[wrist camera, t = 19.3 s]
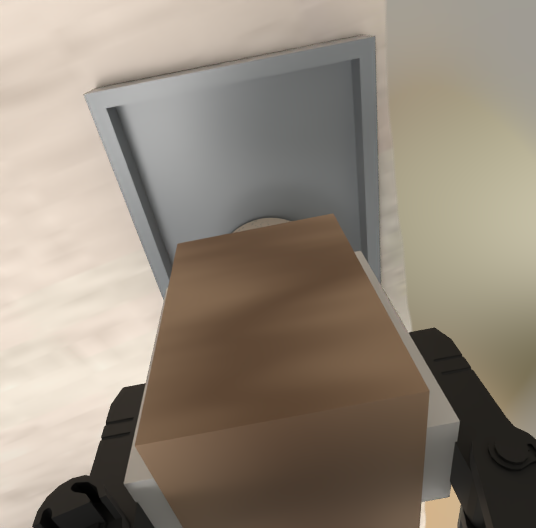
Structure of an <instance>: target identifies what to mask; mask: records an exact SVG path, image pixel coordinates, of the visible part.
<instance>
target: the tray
mask: <svg viewBox="0 0 536 528" xmlns="http://www.w3.org/2000/svg"><path fill="white" fill-rule="evenodd" d="M84 97H85V99H86V102H87V104H88V107H89V109H90V112H91V115H92V117H93V120H94V122H95V125H96V127H97V130H98V133H99V135H100V138H101V140H102V143H103V145H104V148H105V151H106V153H107V156H108V158H109V161H110V163H111V166H112V169H113V171H114V174H115V176H116V179H117V181H118V184H119V187H120V189H121V192H122V194H123V197H124V199H125V202H126V205H127V207H128V210H129V212H130V215H131V217H132V220H133V223H134V225H135V228H136V230H137V233H138V235H139V238H140V241H141V243H142V246H143V248H144V251H145V253H146V256H147V259H148V261H149V264H150V266H151V269H152V271H153V274H154V277H155V279H156V282H157V284H158V287H159V289H160V292H161V295H162V297H163V300H164V298H165V294H166V289H167V288H168V286H169V281H170V276H171V272H172V267H173V262H174V257H175V253H176V248H177V244H178V243H183V242H188V241H194V240H199V239H204V238H209V237H214V236H219V235H224V234H230V233H233V232H234V231H235V230H236V229H238V228H239V227H241V226H242V225H244V224H246V223H248V222H251V221H254V220H257V219H262V218H280V219H285V220H289V221H297V220H302V219H307V218H312V217H317V216H322V215H327V214H334V216H335V217H336V219H337V221H338V223H339V225H340V227H341V229H342V230H343V232H344V234H345V236H346V238H347V240H348V241H349V243H350V245H351V247H352V249H353V251H354V252H356V251H361V252H362V254H363V255H364V257H365V259H366V261H367V262H368V264H369V266H370V267H371V269H372V271H373V273H374V274H375V276H376V278H377V280H378V281H379V283H380V285H381V274H380V230H379V185H378V140H377V96H376V51H375V36H367V35H360V36H355V37H350V38H345V39H340V40H335V41H330V42H325V43H320V44H315V45H310V46H305V47H300V48H295V49H290V50H285V51H280V52H275V53H270V54H265V55H260V56H255V57H250V58H245V59H240V60H235V61H230V62H225V63H220V64H215V65H210V66H205V67H200V68H194V69H189V70H184V71H179V72H174V73H169V74H164V75H159V76H154V77H149V78H144V79H139V80H134V81H129V82H124V83H119V84H114V85H109V86H104V87H99V88H95V89H93V90H91V91H89V92H87V93H85V94H84Z"/></svg>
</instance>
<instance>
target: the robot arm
mask: <svg viewBox="0 0 536 528" xmlns="http://www.w3.org/2000/svg"><path fill="white" fill-rule="evenodd" d="M355 254H356V256H357V258H358V260H359V262H360V263H361V265H362V267H363V269H364V271H365V273H366V275H367V276H368V278H369V280H370V282H371V284H372V286H373V287H374V289H375V291H376V293H377V295H378V297H379V298H380V300H381V302H382V304H383V306H384V308H385V310H386V311H387V313H388V315H389V317H390V319H391V321H392V322H393V324H394V326H395V328H396V330H397V332H398V333H399V335H400V337H401V339H402V341H403V343H404V344H405V346H406V348H407V350H408V352H409V354H410V356H411V357H412V359H413V361H414V363H415V365H416V367H417V368H418V370H419V372H420V374H421V376H422V378H423V379H424V381H425V383H426V385H427V387H428V389H429V391H430V393H429V406H428V420H427V433H426V446H425V460H424V473H423V486H422V500H421V502H425V501H430V500H435V499H441V498H446V497H449V496H450V489H451V485H452V487H453V489H454V491H455V493H456V495H457V497H458V499H459V501H460V503H461V508H460V513H459V519H458V528H536V439H535V438H533V437H532V436H531V435H530V434H529V433H527V432H525V431H523V430H521V429H518V428H516V427H515V426H513V424H511V422H510V421H509V420H508V419H507V418H506V416H505V415H504V413H503V412H502V411H501V409H500V408H499V406H498V405H497V404H496V402H495V401H494V399H493V398H492V396H491V395H490V393H489V392H488V391H487V389H486V388H485V386H484V385H483V384H482V382H481V381H480V379H479V378H478V376H477V375H476V374H475V372H474V371H473V370H471V367H470V365H469V364H468V362H467V361H466V359H465V358H464V357H462V354H461V352H460V351H459V349H458V348H457V347H456V345H455V344H454V342H453V341H452V340H451V339H450V338H449V337H447V336H446V335H445V334H443V333H441V332H440V331H439V330H437V329H436V328H430V329H425V330H419V331H414V332H409V333H408V331H407V329H406V328H405V326H404V324H403V323H402V321H401V319H400V317H399V316H398V314H397V312H396V310H395V309H394V307H393V305H392V304H391V302H390V300H389V298H388V297H387V295H386V293H385V292H384V290H383V288H382V286H381V285H380V283H379V281H378V280H377V278H376V276H375V274H374V273H373V271H372V269H371V267H370V266H369V264H368V262H367V261H366V259H365V257H364V255H363V254H362V252H361V251H356V252H355ZM167 290H168V288H167V289H166V294H165V298H164V303H163V307H162V312H161V316H160V321H159V325H158V330H157V334H156V339H155V344H154V348H153V353H152V357H151V362H150V366H149V371H148V375H147V380H146V383H145V384H140V385H134V386H129V387H124V388H122V390H121V391H120V393H119V394H118V395H117V397H116V398H115V400H114V401H113V402H112V404H111V406H110V410H109V413H108V416H107V420H106V426H104V430H103V433H102V436H101V438H102V440H101V441H100V443H99V446H98V450H97V453H96V456H95V460H94V463H93V467H92V470H91V473H90V476H87V475H84V476H80V477H76V478H72V479H70V480H69V481H67V482H65V483H63V484H62V485H60V486H58V487H57V488H56V489H55V490H54V491H53V492H52V493H51V494H50V495H49V496H48V497H47V498H46V499H45V501H44V502H43V504H42V505H41V507H40V508H39V510H38V511H37V514H36V517H35V520H34V523H33V526H32V527H33V528H183V527H182V525H181V524H180V522H179V520H178V519H177V517H176V515H175V513H174V512H173V510H172V508H171V507H170V505H169V503H168V502H167V500H166V498H165V497H164V495H163V493H162V492H161V490H160V488H159V486H158V485H157V483H156V481H155V480H154V478H153V476H152V475H151V473H150V471H149V470H148V468H147V466H146V465H145V463H144V461H143V459H142V458H141V456H140V454H139V453H138V451H137V449H136V448H135V442H136V437H137V432H138V428H139V423H140V418H141V413H142V409H143V404H144V399H145V394H146V390H147V385H148V380H149V376H150V371H151V366H152V361H153V357H154V352H155V347H156V342H157V338H158V333H159V328H160V324H161V319H162V314H163V309H164V305H165V300H166V295H167Z"/></svg>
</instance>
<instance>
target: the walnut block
mask: <svg viewBox="0 0 536 528" xmlns="http://www.w3.org/2000/svg"><path fill="white" fill-rule="evenodd" d="M429 393H430V391H429V389H428V387H427V385H426V383H425V381H424V379H423V378H422V376H421V374H420V372H419V370H418V368H417V367H416V365H415V363H414V361H413V359H412V357H411V356H410V354H409V352H408V350H407V348H406V346H405V344H404V343H403V341H402V339H401V337H400V335H399V333H398V332H397V330H396V328H395V326H394V324H393V322H392V321H391V319H390V317H389V315H388V313H387V311H386V310H385V308H384V306H383V304H382V302H381V300H380V298H379V297H378V295H377V293H376V291H375V289H374V287H373V286H372V284H371V282H370V280H369V278H368V276H367V275H366V273H365V271H364V269H363V267H362V265H361V263H360V262H359V260H358V258H357V256H356V254H355V252H354V251H353V249H352V247H351V245H350V243H349V241H348V240H347V238H346V236H345V234H344V232H343V230H342V229H341V227H340V225H339V223H338V221H337V219H336V217H335V216H334V214H327V215H322V216H317V217H312V218H307V219H302V220H297V221H291V222H286V223H281V224H276V225H271V226H266V227H260V228H255V229H250V230H245V231H240V232H235V233H230V234H224V235H219V236H214V237H209V238H204V239H199V240H194V241H188V242H183V243H178V244H177V248H176V253H175V257H174V262H173V267H172V272H171V276H170V281H169V286H168V290H167V295H166V300H165V305H164V309H163V314H162V319H161V324H160V328H159V333H158V338H157V342H156V347H155V352H154V357H153V361H152V366H151V371H150V376H149V380H148V385H147V390H146V394H145V399H144V404H143V409H142V413H141V418H140V423H139V428H138V432H137V437H136V442H135V448H136V449H137V451H138V453H139V454H140V456H141V458H142V459H143V461H144V463H145V465H146V466H147V468H148V470H149V471H150V473H151V475H152V476H153V478H154V480H155V481H156V483H157V485H158V486H159V488H160V490H161V492H162V493H163V495H164V497H165V498H166V500H167V502H168V503H169V505H170V507H171V508H172V510H173V512H174V513H175V515H176V517H177V519H178V520H179V522H180V524H181V525H182V527H183V528H419V526H420V513H421V500H422V486H423V473H424V460H425V446H426V433H427V420H428V406H429Z"/></svg>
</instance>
